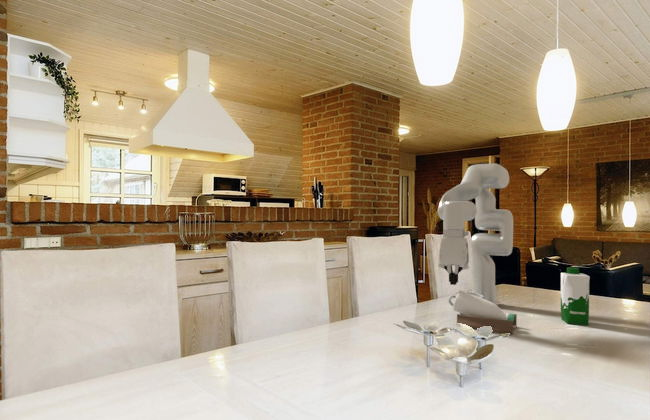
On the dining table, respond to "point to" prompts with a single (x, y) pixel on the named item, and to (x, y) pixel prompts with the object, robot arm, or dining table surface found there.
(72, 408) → the dining table surface
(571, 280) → the milk carton
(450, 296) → the teacup
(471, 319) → the cradle
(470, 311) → the milk bottle
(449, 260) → the robot arm
